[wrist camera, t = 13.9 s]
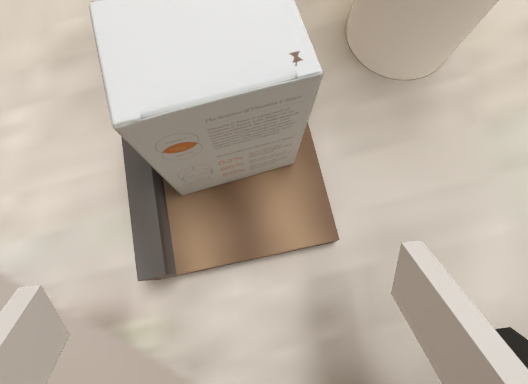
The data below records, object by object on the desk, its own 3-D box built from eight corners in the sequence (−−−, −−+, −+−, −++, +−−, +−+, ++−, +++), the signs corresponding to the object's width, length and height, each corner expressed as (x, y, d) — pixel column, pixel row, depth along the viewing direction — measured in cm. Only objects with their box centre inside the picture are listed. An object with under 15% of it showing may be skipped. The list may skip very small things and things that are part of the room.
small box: (271, 95, 23) (283, -46, 13) (295, 166, 22) (330, 70, 12) (161, 123, 22) (82, -4, 12) (179, 198, 21) (108, 126, 11)
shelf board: (266, -15, 27) (268, -59, 23) (334, 241, 22) (350, 235, 18) (121, 6, 26) (99, -36, 22) (155, 280, 21) (134, 281, 17)
